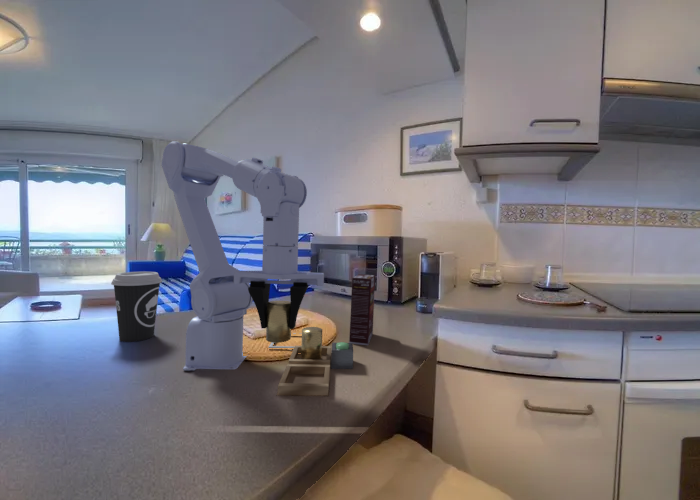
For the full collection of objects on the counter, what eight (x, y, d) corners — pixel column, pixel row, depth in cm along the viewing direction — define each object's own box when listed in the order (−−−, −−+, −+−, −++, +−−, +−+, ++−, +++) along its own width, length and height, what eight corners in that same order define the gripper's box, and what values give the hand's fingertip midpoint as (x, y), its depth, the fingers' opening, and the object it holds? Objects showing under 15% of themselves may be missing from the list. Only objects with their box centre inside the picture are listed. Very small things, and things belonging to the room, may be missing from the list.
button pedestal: (331, 371, 53) (331, 350, 53) (331, 362, 57) (332, 342, 57) (352, 371, 53) (353, 350, 53) (351, 362, 57) (352, 343, 57)
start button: (335, 367, 54) (336, 346, 54) (335, 362, 56) (336, 342, 56) (348, 367, 54) (348, 346, 54) (347, 362, 56) (348, 342, 56)
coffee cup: (152, 328, 74) (152, 270, 74) (168, 336, 68) (169, 274, 68) (104, 337, 66) (105, 273, 66) (118, 347, 61) (119, 277, 60)
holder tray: (276, 399, 43) (276, 386, 43) (294, 354, 60) (294, 345, 60) (329, 400, 44) (329, 387, 44) (332, 355, 61) (332, 346, 61)
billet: (262, 341, 46) (262, 304, 46) (271, 333, 50) (272, 299, 50) (285, 343, 46) (286, 306, 46) (293, 335, 50) (294, 301, 50)
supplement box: (369, 348, 66) (371, 278, 65) (348, 345, 67) (350, 277, 66) (373, 336, 74) (375, 274, 74) (355, 334, 75) (357, 273, 75)
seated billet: (299, 364, 54) (300, 332, 54) (302, 355, 58) (303, 326, 58) (320, 364, 55) (321, 333, 54) (322, 356, 59) (323, 327, 58)
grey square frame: (268, 352, 61) (268, 346, 61) (277, 337, 70) (277, 332, 70) (311, 353, 61) (311, 347, 61) (315, 338, 71) (315, 333, 70)
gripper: (227, 244, 43) (225, 333, 44) (323, 247, 44) (320, 335, 44) (242, 244, 50) (240, 321, 51) (325, 247, 51) (322, 322, 52)
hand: (278, 327), depth 48 cm, fingers closed on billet, 4 cm apart
